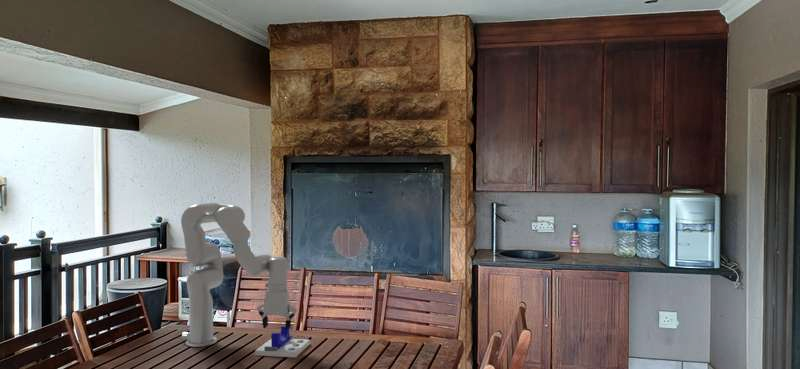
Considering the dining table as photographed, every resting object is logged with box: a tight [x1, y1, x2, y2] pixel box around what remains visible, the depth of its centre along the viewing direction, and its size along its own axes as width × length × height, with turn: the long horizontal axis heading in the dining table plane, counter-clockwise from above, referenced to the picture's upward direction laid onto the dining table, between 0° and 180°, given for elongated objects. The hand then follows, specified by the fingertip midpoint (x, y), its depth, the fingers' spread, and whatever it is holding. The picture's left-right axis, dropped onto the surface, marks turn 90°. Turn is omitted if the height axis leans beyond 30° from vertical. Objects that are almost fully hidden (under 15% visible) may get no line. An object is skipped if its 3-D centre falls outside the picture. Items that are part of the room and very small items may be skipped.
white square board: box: [254, 334, 311, 358], centre depth 223 cm, size 17×17×4 cm
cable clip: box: [270, 325, 290, 349], centre depth 224 cm, size 12×4×6 cm, turn 171°
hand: (276, 328), depth 224 cm, fingers open, 9 cm apart
